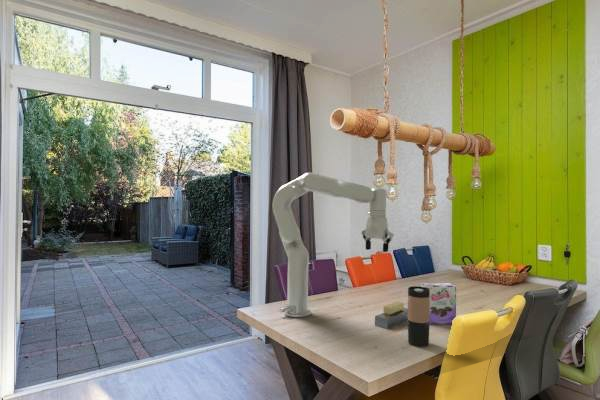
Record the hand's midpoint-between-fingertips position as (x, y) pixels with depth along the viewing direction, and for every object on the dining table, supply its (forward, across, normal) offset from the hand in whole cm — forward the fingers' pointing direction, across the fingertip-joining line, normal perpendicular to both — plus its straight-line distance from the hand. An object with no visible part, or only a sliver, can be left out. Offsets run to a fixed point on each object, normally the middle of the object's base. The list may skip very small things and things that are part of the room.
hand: (376, 250), depth 171 cm
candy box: (+29, +27, +8) cm, 40 cm away
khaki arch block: (+28, +14, -6) cm, 32 cm away
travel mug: (+29, +33, -21) cm, 49 cm away
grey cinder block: (+29, +14, -6) cm, 33 cm away
